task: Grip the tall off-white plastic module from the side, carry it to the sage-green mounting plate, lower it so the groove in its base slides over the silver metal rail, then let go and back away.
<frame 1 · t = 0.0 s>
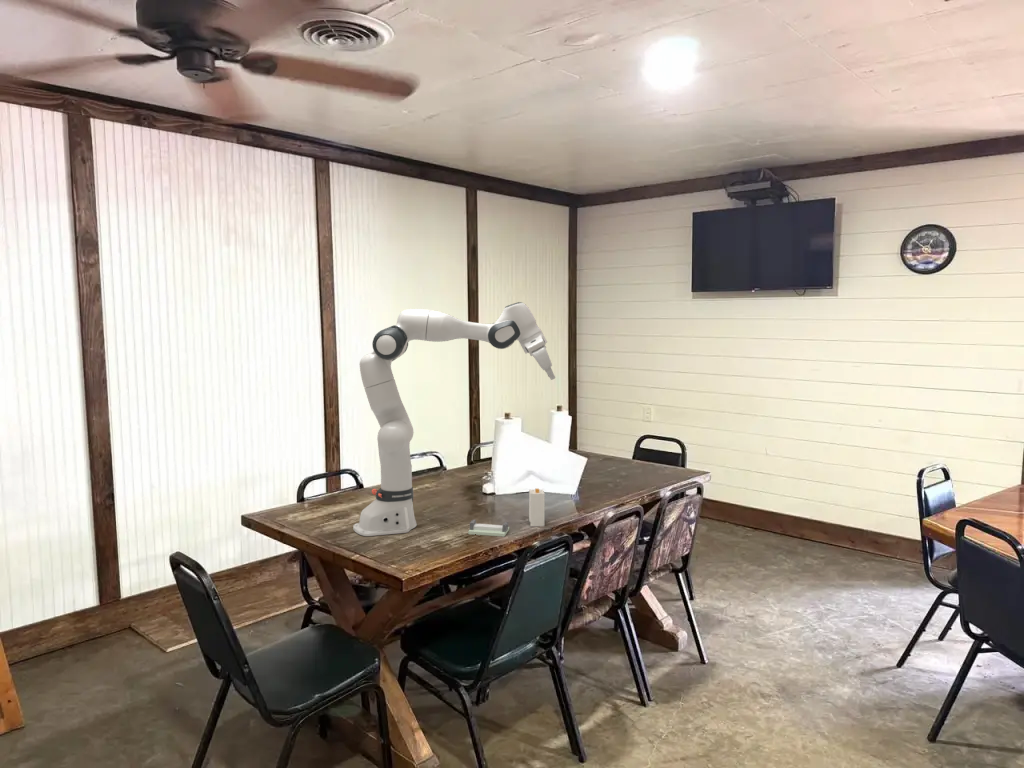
hand: (552, 377, 248), 54 cm above the table, tool tilted 30°, fingers open, 8 cm apart
module: (536, 523, 256), on the table
rail plate: (489, 531, 245), on the table
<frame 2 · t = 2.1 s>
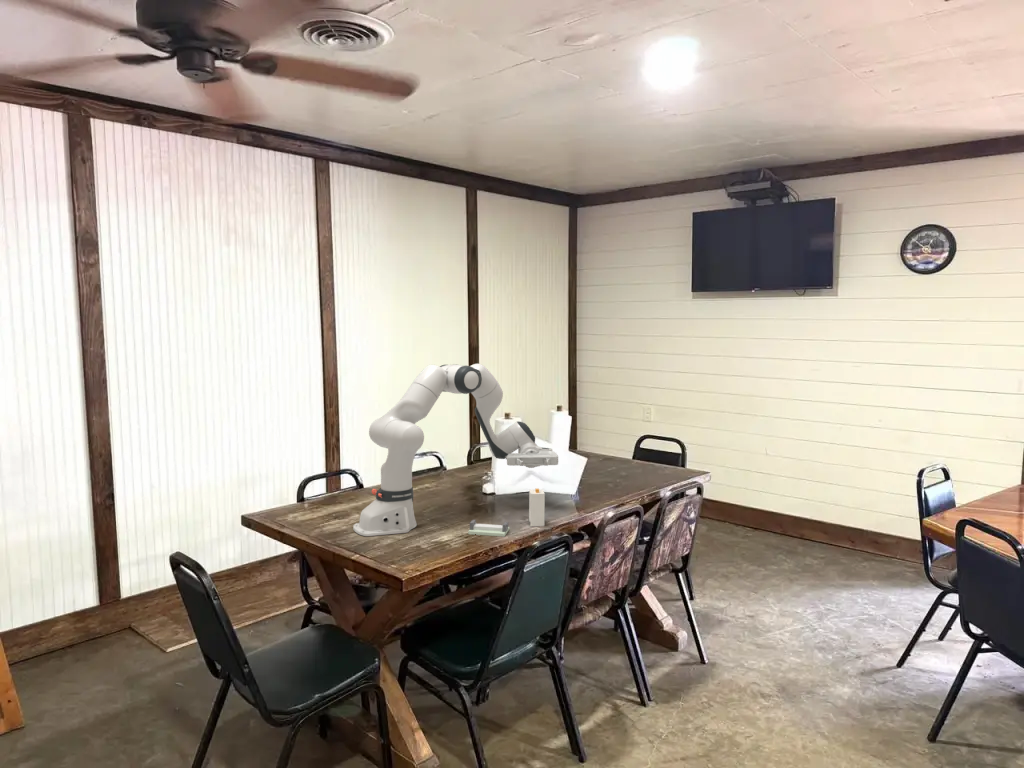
hand: (534, 463, 266), 20 cm above the table, tool horizontal, fingers open, 8 cm apart
nothing on the table moved.
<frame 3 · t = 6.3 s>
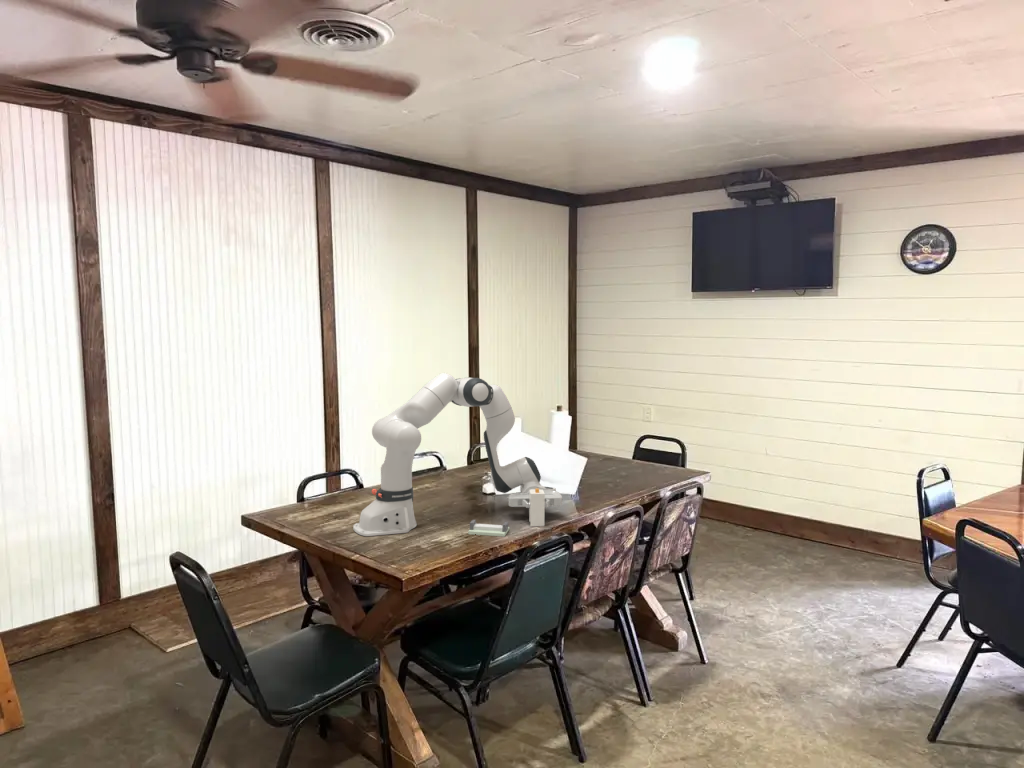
hand: (537, 505, 254), 7 cm above the table, tool horizontal, fingers closed on module, 5 cm apart
module: (536, 523, 256), on the table, touching gripper
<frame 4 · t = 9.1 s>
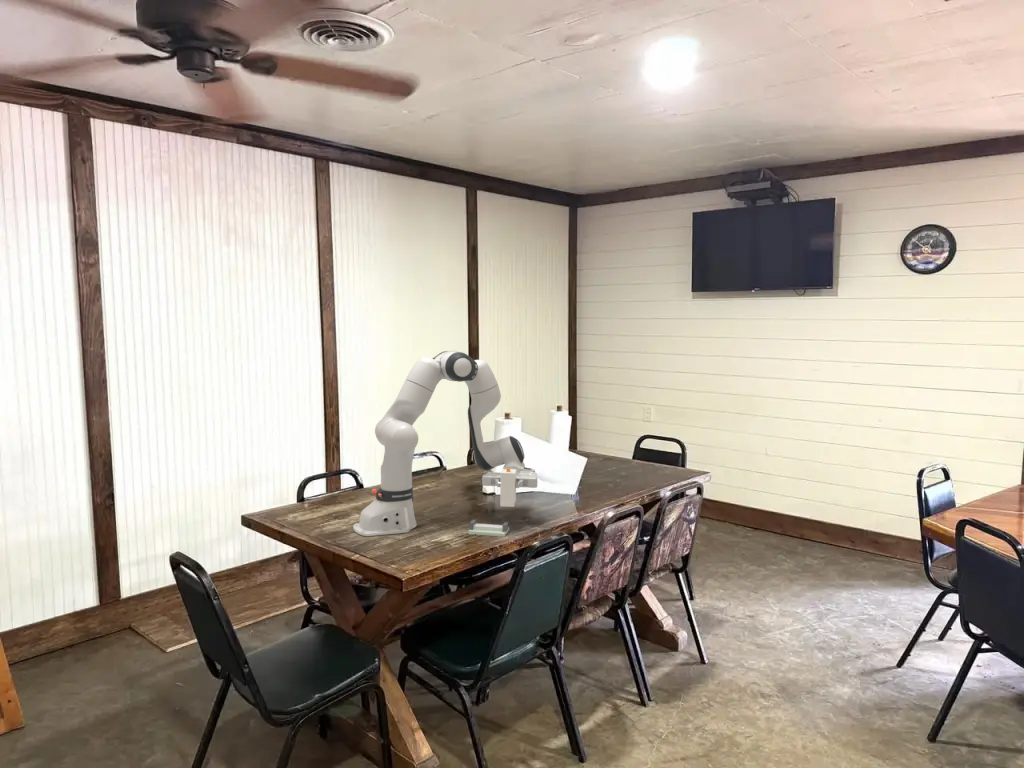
hand: (508, 485, 247), 16 cm above the table, tool horizontal, fingers closed on module, 5 cm apart
module: (508, 504, 248), point 9 cm above the table, touching gripper
when the fingers open (9 cm above the table, at t = 11.9 s): module stays where it is, resting on rail plate.
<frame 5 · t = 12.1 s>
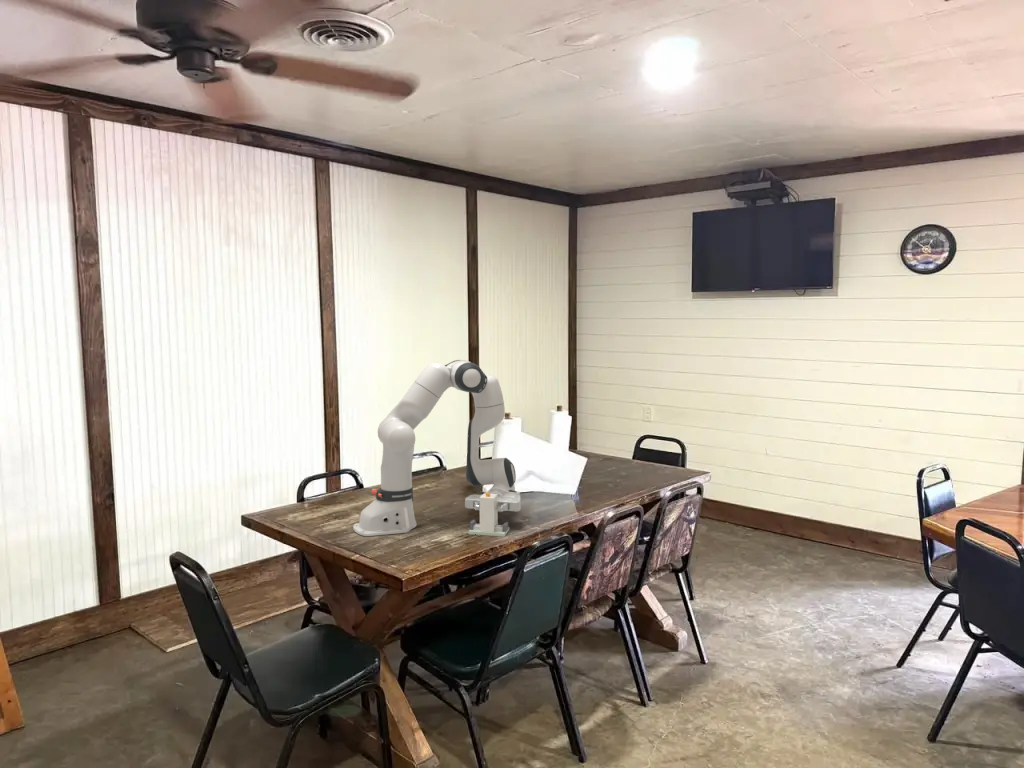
hand: (488, 508, 244), 9 cm above the table, tool horizontal, fingers open, 7 cm apart
module: (488, 529, 245), point 1 cm above the table, touching rail plate
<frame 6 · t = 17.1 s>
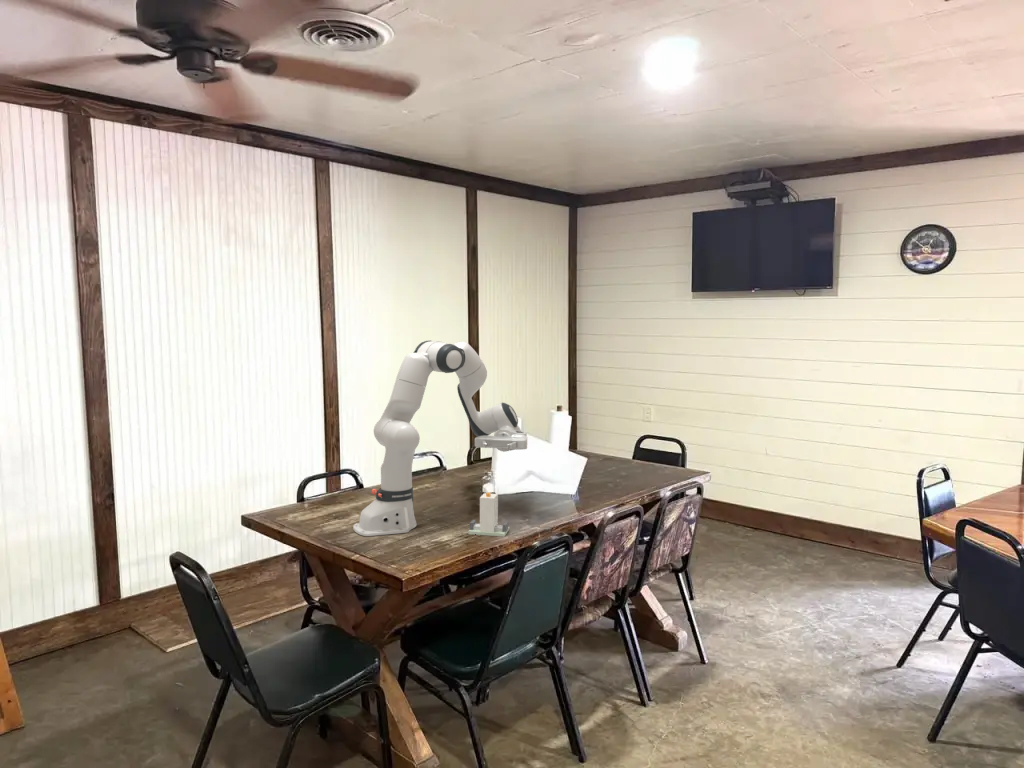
hand: (497, 446, 258), 28 cm above the table, tool horizontal, fingers open, 8 cm apart
nothing on the table moved.
at the end: module 0.0 cm off-centre on the rail plate, point 1.0 cm above the rail plate's base; module tilted 0°; the gripper is holding nothing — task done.
